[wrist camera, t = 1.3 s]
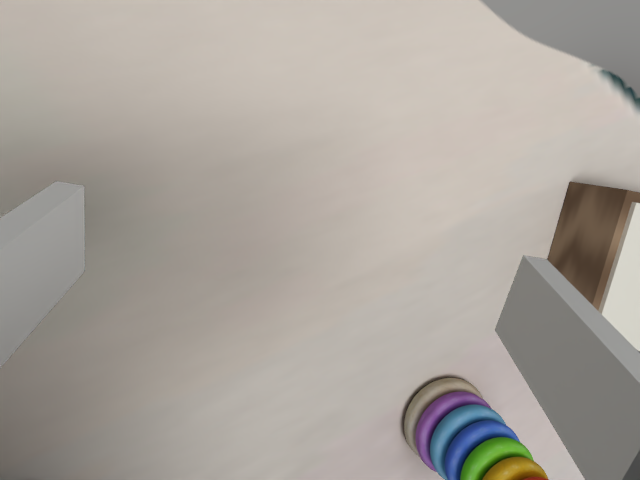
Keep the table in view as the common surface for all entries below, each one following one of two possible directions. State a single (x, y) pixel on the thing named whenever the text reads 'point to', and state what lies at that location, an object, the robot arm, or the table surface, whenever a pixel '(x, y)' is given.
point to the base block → (602, 252)
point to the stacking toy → (465, 435)
